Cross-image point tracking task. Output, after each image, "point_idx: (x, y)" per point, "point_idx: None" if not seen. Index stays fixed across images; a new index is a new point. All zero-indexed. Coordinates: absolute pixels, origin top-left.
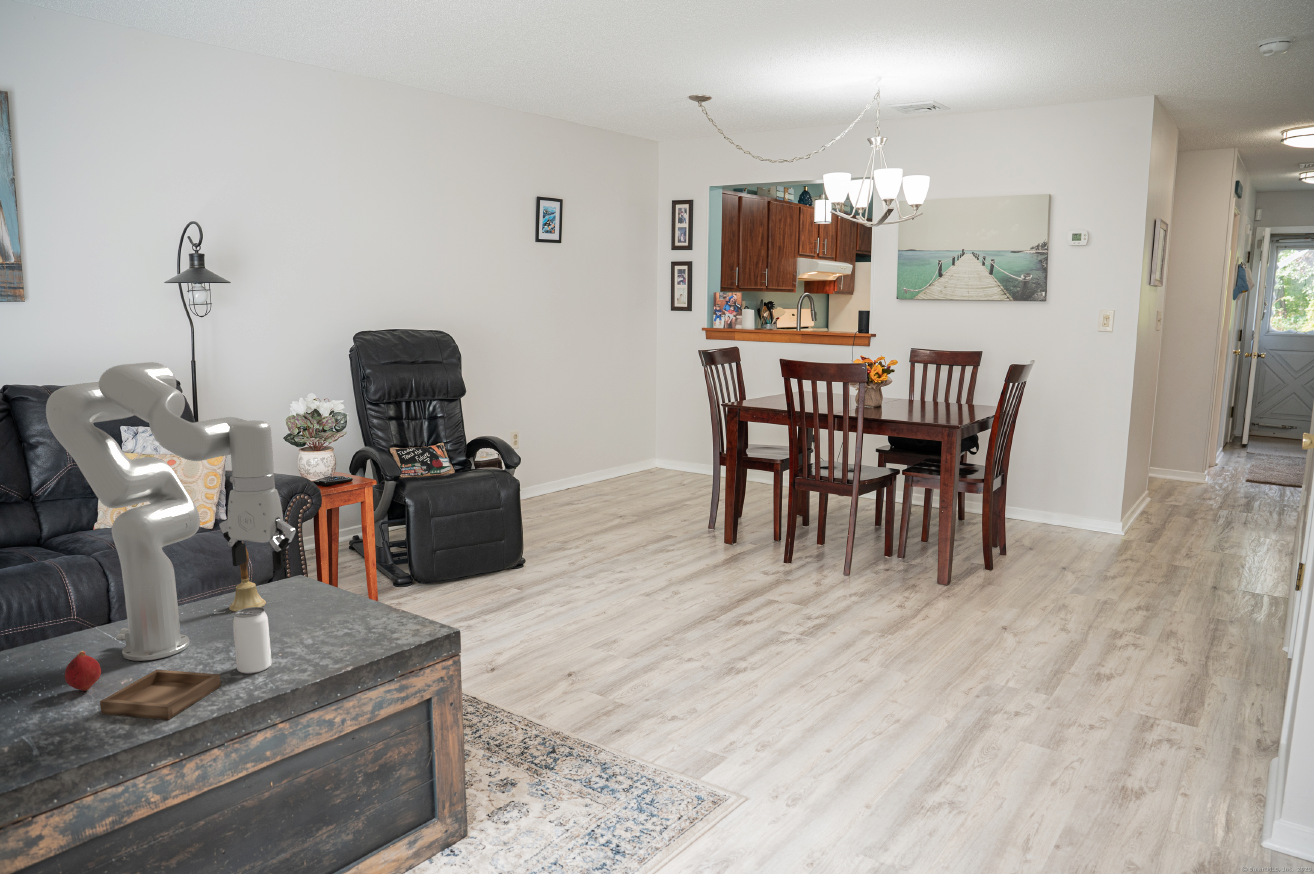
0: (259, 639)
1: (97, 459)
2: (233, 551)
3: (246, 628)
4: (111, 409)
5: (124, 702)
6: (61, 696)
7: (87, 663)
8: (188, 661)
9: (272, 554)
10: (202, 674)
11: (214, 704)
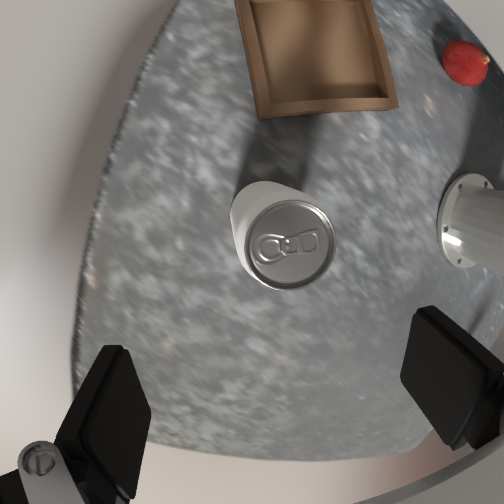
0: (235, 215)
1: None
2: (478, 354)
3: (258, 196)
4: None
5: None
6: None
7: (465, 51)
8: (403, 196)
9: (90, 422)
10: (297, 105)
11: (204, 60)
